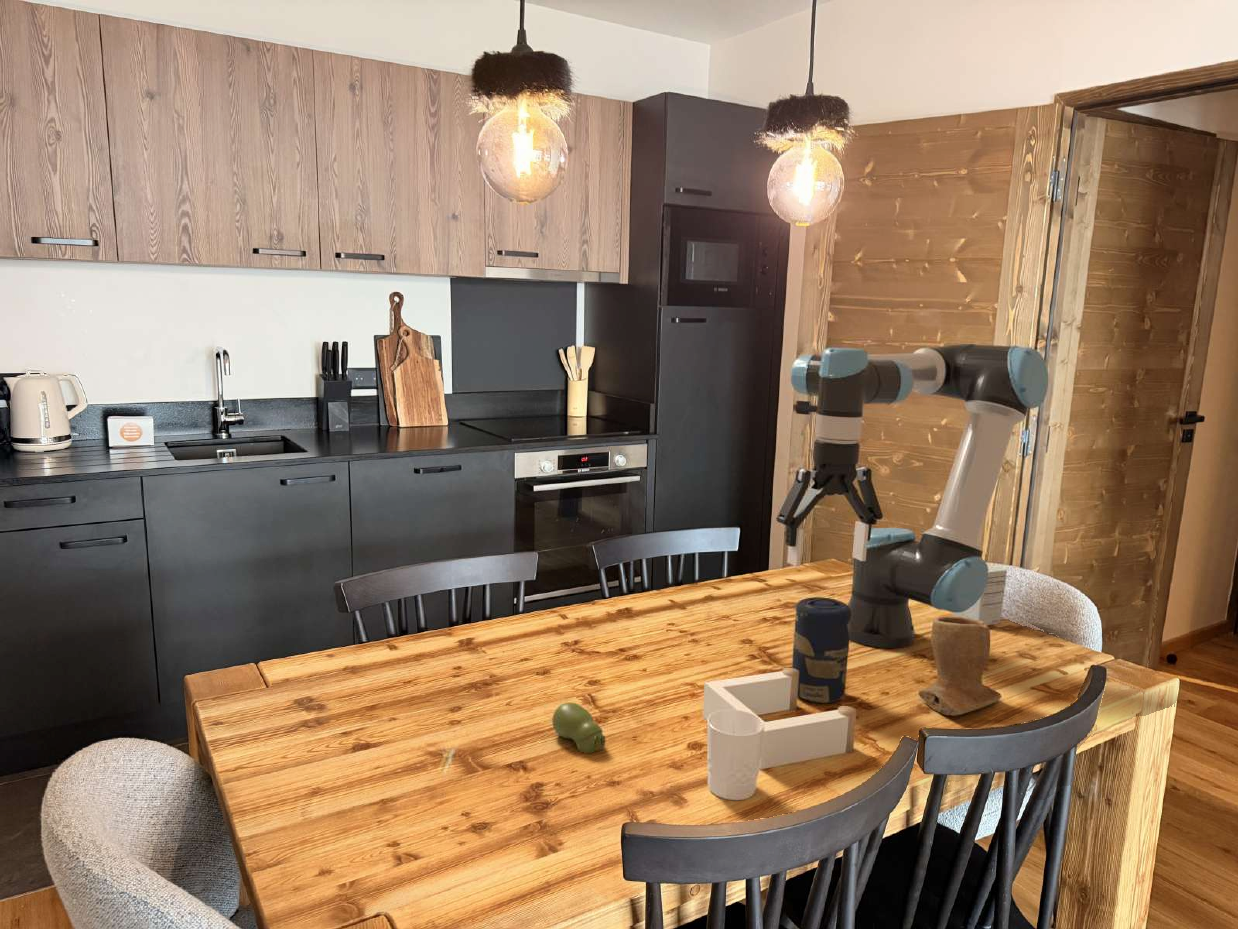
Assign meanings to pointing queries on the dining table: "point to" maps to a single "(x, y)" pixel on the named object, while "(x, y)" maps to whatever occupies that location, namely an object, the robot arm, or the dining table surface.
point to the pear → (578, 727)
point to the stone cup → (959, 666)
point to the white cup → (733, 753)
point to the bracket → (786, 735)
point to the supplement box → (989, 599)
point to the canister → (821, 648)
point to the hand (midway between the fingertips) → (826, 561)
